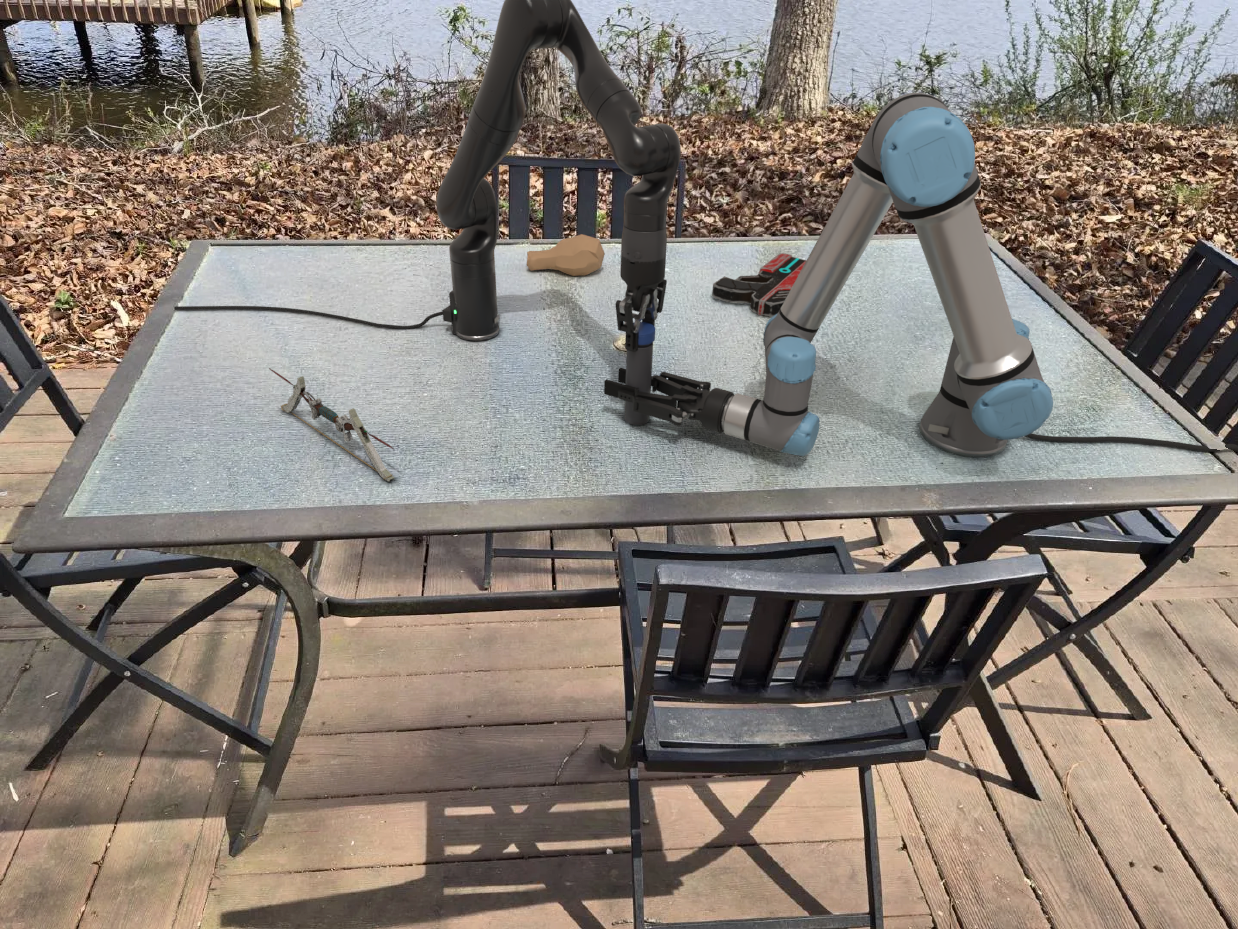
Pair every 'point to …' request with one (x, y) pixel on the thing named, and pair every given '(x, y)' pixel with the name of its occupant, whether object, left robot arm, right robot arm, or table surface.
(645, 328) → the lid
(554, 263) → the squash
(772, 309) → the gun
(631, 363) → the dark grey bottle
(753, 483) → the table surface
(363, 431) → the bow
